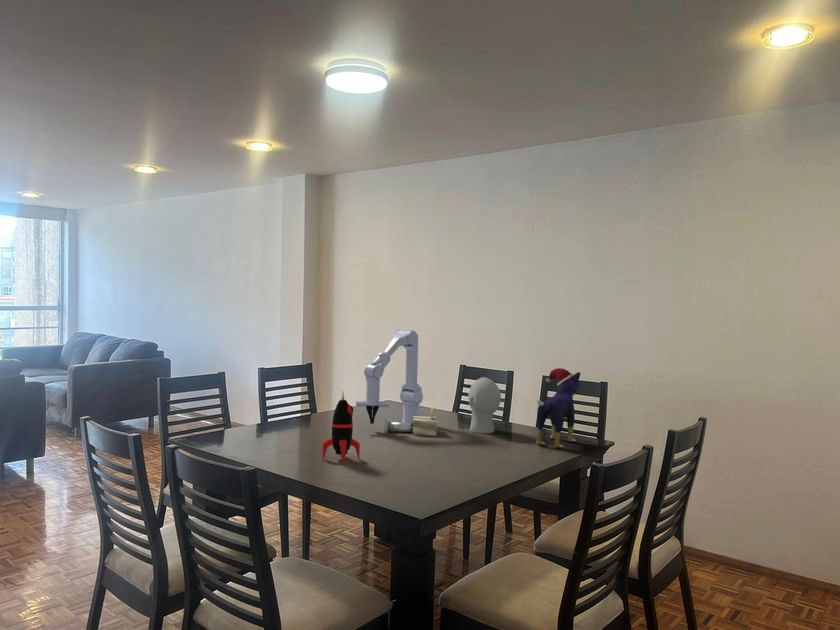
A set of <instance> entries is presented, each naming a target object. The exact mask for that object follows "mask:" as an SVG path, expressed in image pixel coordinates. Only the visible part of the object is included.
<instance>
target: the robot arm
mask: <svg viewBox="0 0 840 630" xmlns="http://www.w3.org/2000/svg"><path fill="white" fill-rule="evenodd" d="M392 334H393V335H392V339H391V341H390V342H389V344H388V346H387V347H386V348H385V349H384V351H381V352H379V353H378V354H377V356H376V357H375V358H374V360H373V361H372V362H371V363H370V364H367V366H365V368H364V370H363V374H364V377H365V381H366V392H365V396H366V397H365V401H355V408H357V407H365V410H366V412H367V414H368V418H369V422H370V425H374V424H375V418H376V415H377V414H378V413H377V412H378V411H379V408H390V402H389V401H387V402H385V401H380V396H381V395H380V393H381V391H380V390H381V389H380V388H381V378H382V377H383V375H384V372H385V369H386V367H387V365H389V363H390V362H391V356H393V354H395V352H396V351H397V350H398V349H399V348H400V347H401V346H402V347H403V348H404V349H405V350H406V356H405V357H406V359H405V360H406V361H405V383H404V384H403V385H402V386H401V391H400V393H399V394H400V395H399V398H400V400H401V403H402V404H403V409H402V410H403V411H402V413H403V415H402V419H401V423H413V416H420V415H419V414H420V412H419V411H420V405H421V403H423V400H424V395H423V394H424V393H423V388H422V386H421V385H420V384H419V383H418V365H419V364H418V363H419V362H418V360H419V334H418V333H417V332H416V331H415V330H407V329H406V330H404V329H396V330H395V332H394V333H392Z"/></svg>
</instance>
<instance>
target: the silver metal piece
mask: <svg viewBox="0 0 840 630" xmlns="http://www.w3.org/2000/svg"><path fill="white" fill-rule="evenodd" d="M383 426H384V427H383V433H384V434H387V433H388V432H394V433H395V432H396V433H397V432H399V433H413V423H402V421H401V422H400V421H399V422H397V421H395V422H394V421H390V422H389V416H387V415H386V416H384V425H383Z"/></svg>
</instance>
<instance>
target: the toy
mask: <svg viewBox="0 0 840 630" xmlns="http://www.w3.org/2000/svg"><path fill="white" fill-rule="evenodd" d="M580 377H581V372H580V371H579V372H576V373H575V374H573V373H572V372H570V371H569V370H567V369H565V368H563V367H562V368H561V367H560V368H559V367H557V368H554V369H552V370H551V371H550V372H549V375H548V377H546V380H545V381H546V382H547V383H550V382H551V380H555V381H556V386H557V387H558V388H557V391H556V393H555V394H554V395H553V396H551V397H549V398H547V399H545V400H543V401H542V400H541V399H537V400H536V401H537V406H538V407H537V412H536V423H537V424H536V425H537V427H536V444H537V445H540V446H541V445H542V446H543V445H544V446H545V445H546V442H544V441H542V432H543V428H544V426H545V423H546V420H547V418H548V417H549V419H550V424H551V435H550V439H554V448H559V449H560V448H562V449H563V448H564V445H563V444H562V443H561V444H560V436H561V432H562V430H563V428H564V421H565V419H566V423H567V439H566V441H568V442H574V443H575V442H576V439H575V438H573V434H574V427H575V404H574V398H573V397H574V396H575V395H577V393H578V390H579V387H580Z"/></svg>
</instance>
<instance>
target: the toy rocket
mask: <svg viewBox="0 0 840 630" xmlns="http://www.w3.org/2000/svg"><path fill="white" fill-rule="evenodd" d="M341 396H342V397H341V399H339V400H338V401H337V404H336V406H335V409H334V412H333V417H332V422H331V437H330V438H328V439H326V440H324V441H323V443H322V460H325V455H326V452H327V449H328V448H329V447H330V446H332V447H333V448H332V449H333V450H334V451H335V455H341V460H342V464H345V461H346V455H347V454H348V451H349V450H350V449H351V446H352V447H354V448H355V449H354V450H355V451H356V456H357V460H360V452H361V451H360V449H361V444H360V442H359V441H358V440H356V439H354V438H353V429H354V428H353V427H354V425H353V422H354V421H353V415H354V407H353V406H352V405H351V404H349V403H348V401H347V399H345V397H344V396H345V395H344V392H342V395H341Z"/></svg>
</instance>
